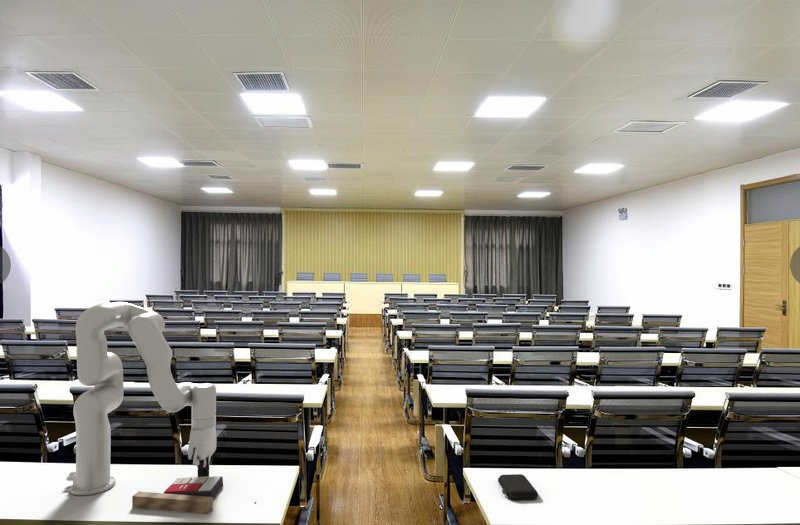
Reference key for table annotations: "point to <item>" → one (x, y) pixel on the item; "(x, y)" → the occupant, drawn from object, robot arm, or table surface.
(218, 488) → the calculator
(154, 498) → the bar
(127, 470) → the table surface
